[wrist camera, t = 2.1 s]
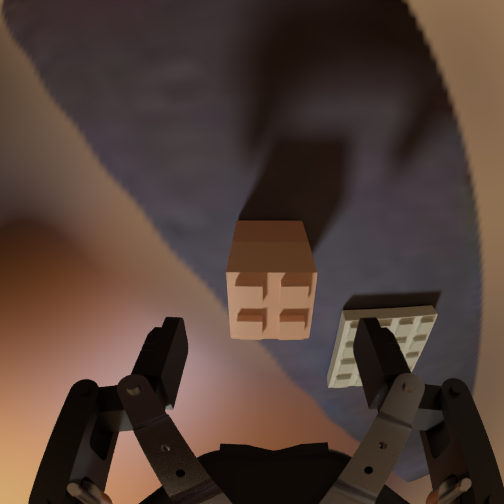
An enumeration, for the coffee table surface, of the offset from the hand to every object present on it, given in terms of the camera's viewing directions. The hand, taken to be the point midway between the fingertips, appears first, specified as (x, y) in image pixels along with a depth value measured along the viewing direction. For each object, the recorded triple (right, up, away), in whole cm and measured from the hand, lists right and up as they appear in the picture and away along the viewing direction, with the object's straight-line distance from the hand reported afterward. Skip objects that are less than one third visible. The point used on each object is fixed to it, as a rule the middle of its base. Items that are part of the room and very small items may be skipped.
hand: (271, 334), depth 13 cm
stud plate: (+10, -4, +10) cm, 15 cm away
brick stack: (0, +4, +6) cm, 7 cm away
